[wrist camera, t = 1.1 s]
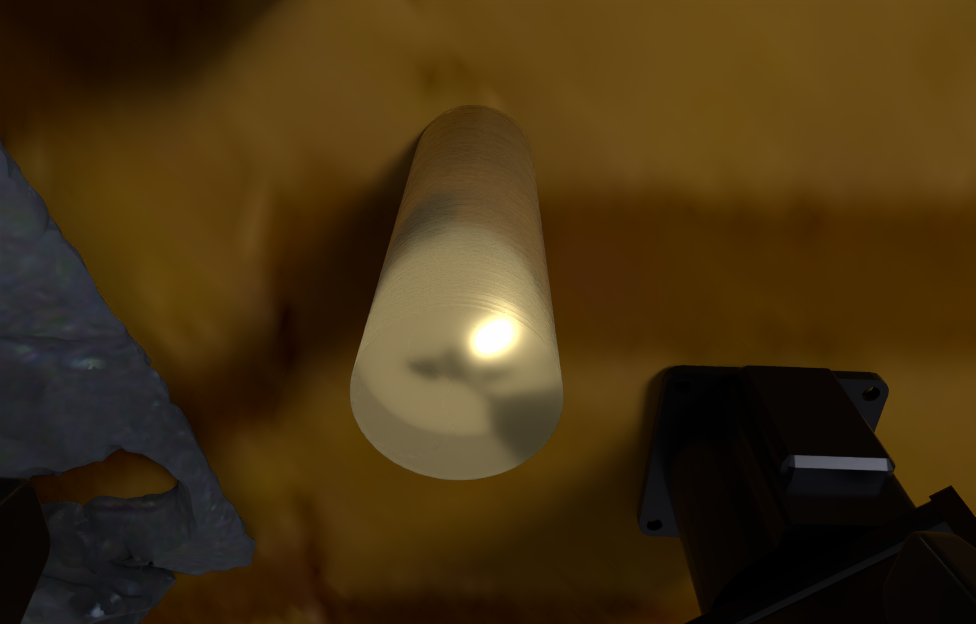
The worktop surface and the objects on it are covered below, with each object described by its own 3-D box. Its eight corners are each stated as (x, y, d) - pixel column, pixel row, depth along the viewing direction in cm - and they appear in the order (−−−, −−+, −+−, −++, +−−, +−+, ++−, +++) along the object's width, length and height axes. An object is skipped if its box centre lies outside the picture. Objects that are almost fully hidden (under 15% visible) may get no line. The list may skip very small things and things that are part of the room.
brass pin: (528, 220, 20) (554, 483, 11) (415, 216, 20) (354, 476, 11) (536, 107, 19) (573, 311, 10) (414, 102, 19) (343, 302, 10)
